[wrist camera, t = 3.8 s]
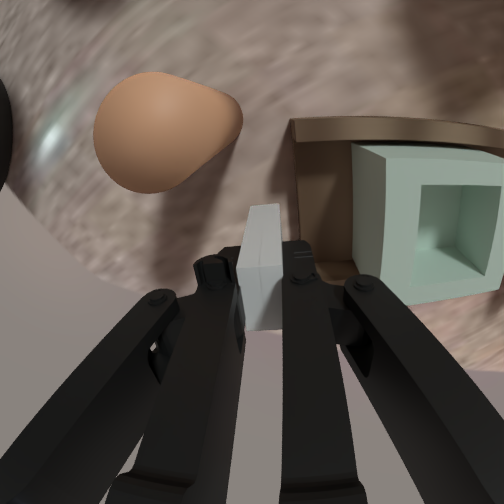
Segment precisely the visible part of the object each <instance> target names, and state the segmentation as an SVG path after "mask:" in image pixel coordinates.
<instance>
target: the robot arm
mask: <svg viewBox="0 0 504 504" xmlns="http://www.w3.org/2000/svg"><path fill="white" fill-rule="evenodd" d="M11 148H12V118H11V109H10V103H9V99H8V95H7V92H6V89H5V86H4V84H3V82H2V80H1V79H0V191H1V189H2V187H3V185H4V182H5V179H6V176H7V173H8V168H9V163H10V157H11ZM193 267H194V271H195V275H196V279H197V283H198V287H197V290H196V292H195V293H194V294H192V295H188V296H184V297H180V298H177V297H176V294H175V292H174V291H173V290H170V289H158V290H157V289H156V290H153V291H151V292H149V293H147V294H146V295H145V296H143V297H142V298H141V299H140V300H139V301H138V302H137V303H136V304H135V306H134V307H133V308H132V309H131V310H130V311H129V312H128V313H127V314H126V315H125V316H124V317H123V318H122V319H121V320H120V321H119V322H118V323H117V324H116V325H115V327H114V328H113V329H112V330H111V331H110V332H109V333H108V334H107V335H106V336H105V337H104V339H102V340H101V342H100V343H99V344H98V345H97V346H96V347H95V348H94V349H93V350H92V352H90V353H89V355H88V356H87V357H86V358H85V359H84V360H83V361H82V362H81V364H79V366H78V367H77V368H76V369H75V370H74V371H73V372H72V373H71V375H70V376H69V377H68V378H67V379H66V380H65V381H64V382H63V384H62V385H61V386H60V387H59V388H58V389H57V391H56V392H55V393H54V394H53V395H52V396H51V398H50V399H49V400H48V401H47V402H46V404H45V405H44V406H43V407H42V408H41V409H40V410H39V412H38V413H37V414H36V415H35V416H34V418H33V419H32V420H31V421H30V423H29V424H28V425H27V426H26V427H25V429H24V430H23V431H22V432H21V434H20V435H19V436H18V437H17V438H16V440H15V441H14V442H13V444H12V445H11V446H10V448H9V449H8V450H7V451H6V453H5V454H4V455H3V456H2V458H1V459H0V504H99V503H100V501H101V500H102V498H103V497H104V495H105V493H106V492H107V490H108V489H109V487H110V486H111V487H110V489H109V492H108V495H107V498H106V501H105V504H226V498H227V490H228V482H229V474H230V466H231V459H232V451H233V450H232V449H233V442H234V434H235V425H236V418H237V410H238V402H239V393H240V385H241V377H242V369H243V361H244V353H245V344H246V338H245V332H244V327H245V324H246V329H247V331H261V330H279V329H282V337H283V421H282V474H281V489H280V495H279V504H368V502H367V497H366V492H365V489H364V486H363V485H362V484H361V482H360V481H359V479H358V475H357V468H356V460H355V453H354V446H353V438H352V432H351V425H350V419H349V412H348V406H347V400H346V395H345V389H344V383H343V378H342V372H341V367H340V362H339V357H338V352H337V347H336V344H340V348H341V351H342V352H343V354H344V356H345V357H346V359H347V361H348V363H349V365H350V366H351V368H352V370H353V371H354V373H355V375H356V377H357V379H358V380H359V382H360V384H361V386H362V387H363V389H364V391H365V393H366V395H367V396H368V398H369V400H370V402H371V403H372V405H373V407H374V409H375V411H376V412H377V414H378V416H379V418H380V420H381V421H382V423H383V425H384V427H385V429H386V431H387V433H388V434H389V436H390V438H391V440H392V442H393V444H394V446H395V447H396V449H397V451H398V453H399V455H400V457H401V459H402V460H403V462H404V464H405V466H406V468H407V470H408V472H409V474H410V476H411V478H412V479H413V481H414V483H415V485H416V487H417V489H418V491H419V493H420V495H421V497H422V499H423V501H424V503H425V504H504V420H503V419H502V417H501V416H500V415H499V413H498V412H497V411H496V409H495V408H494V407H493V405H492V404H491V403H490V402H489V400H488V399H487V398H486V397H485V395H484V394H483V393H482V391H480V389H479V388H478V386H477V385H476V384H475V383H474V382H473V380H472V379H471V378H470V377H469V375H468V374H467V373H466V372H465V371H464V370H463V368H462V367H461V366H460V365H459V364H458V362H457V361H456V360H455V359H454V358H453V357H452V355H451V354H450V353H449V352H448V351H447V350H446V349H445V347H444V346H443V345H442V344H441V343H440V342H439V341H438V340H437V339H436V337H435V336H434V335H433V334H432V333H431V332H430V331H429V330H428V329H427V327H426V326H425V325H424V324H423V323H422V322H421V321H420V320H419V319H418V318H417V317H416V316H415V315H414V314H413V312H412V311H411V310H410V309H409V308H408V307H407V306H406V305H405V304H404V303H403V302H402V301H401V300H400V299H399V298H398V297H397V296H396V295H395V294H394V293H393V292H392V291H391V290H390V289H389V288H388V287H387V286H386V285H385V284H384V283H383V282H382V281H381V280H380V279H379V278H377V277H375V276H372V275H368V274H360V275H354V276H351V277H349V278H348V279H347V280H346V281H345V283H344V286H340V285H333V284H329V283H326V282H324V281H323V280H322V279H321V276H320V275H319V273H317V270H316V266H315V262H314V258H313V254H312V250H311V245H310V244H309V243H308V242H306V241H305V240H298V241H285V242H283V241H282V229H281V218H280V207H279V203H277V204H266V205H255V206H251V207H250V211H249V215H248V219H247V223H246V228H245V232H244V236H243V241H242V245H241V246H233V247H224V248H223V249H222V250H221V251H220V252H219V253H218V254H214V255H208V256H205V257H203V258H201V259H199V260H197V261H196V262H195V263H194V264H193ZM154 342H155V344H156V348H155V349H154V350H153V351H151V350H150V347H151V346H152V345H153V343H154ZM143 434H144V435H143ZM142 436H143V439H142V441H141V444H140V447H139V450H138V454H137V457H136V460H135V464H134V465H133V468H132V469H131V470H130V471H129V472H126V473H122V474H119V475H118V473H119V472H120V470H121V469H122V467H123V465H124V464H125V462H126V461H127V459H128V457H129V456H130V454H131V453H132V451H133V450H134V448H135V447H136V445H137V443H138V442H139V440H140V439H141V437H142ZM117 475H118V476H117ZM116 476H117V477H116ZM111 484H112V485H111Z"/></svg>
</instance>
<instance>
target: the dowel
mask: <svg viewBox="0 0 504 504" xmlns="http://www.w3.org/2000/svg"><path fill="white" fill-rule="evenodd" d="M242 125H243V114H242V110H241V108H240V106H239V104H238V103H237V102H236V100H235V99H234V98H232V97H231V96H229V95H228V94H225V93H223V92H220V91H218V90H215V89H212V88H209V87H206V86H204V85H201V84H198V83H195V82H192V81H189V80H186V79H183V78H179V77H176V76H173V75H170V74H166V73H161V72H144V73H140V74H136V75H133V76H131V77H129V78H127V79H125V80H123V81H122V82H120V83H119V84H118V85H116V86H115V87H114V88H113V89H112V90H111V91H110V92H109V93H108V95H107V96H106V97H105V99H104V100H103V102H102V103H101V105H100V108H99V110H98V112H97V115H96V119H95V123H94V131H93V137H94V147H95V151H96V154H97V157H98V160H99V162H100V164H101V166H102V167H103V169H104V170H105V172H106V173H107V174H108V175H109V176H110V178H111V179H113V180H114V181H115V182H116V183H117V184H119V185H120V186H122V187H124V188H126V189H128V190H131V191H134V192H138V193H145V194H152V193H159V192H164V191H166V190H169V189H172V188H173V187H175V186H177V185H179V184H180V183H181V182H183V181H184V180H185V179H187V178H188V177H189V176H190V175H191V174H193V173H194V172H195V171H196V170H197V169H199V168H200V167H201V166H202V165H204V164H205V163H206V162H207V161H209V160H210V159H211V158H212V157H214V156H215V155H216V154H217V153H219V152H220V151H221V150H223V149H224V148H225V147H226V146H228V145H229V144H230V143H232V142H233V141H234V140H235V139H236V138H237V136H238V135H239V133H240V131H241V129H242Z"/></svg>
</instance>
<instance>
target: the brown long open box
mask: <svg viewBox="0 0 504 504" xmlns="http://www.w3.org/2000/svg"><path fill="white" fill-rule="evenodd" d="M290 124H291V133H292V143H293V154H294V165H295V176H296V189H297V202H298V216H299V232H300V240H305V241H306V242H308V243H309V244H310V245H311V250H312V254H313V258H314V262H315V266H316V270H317V273H319V275H320V276H321V279H322V280H323V281H324V282H326V283H329V284H333V285H340V286H344V283H345V281H346V280H347V279H348V278H349V277H351V276H354V275H360V273H359V270H358V268H357V266H356V264H355V262H354V260H353V258H352V244H353V174H352V149H351V142H402V143H428V144H445V145H458V146H468V147H471V148H474V149H478V150H481V151H484V152H487V153H490V154H492V155H495V156H498V157H501V158H504V130H503V129H498V128H492V127H487V126H480V125H474V124H467V123H460V122H451V121H442V120H432V119H420V118H405V117H381V116H332V117H308V118H292V119H290Z"/></svg>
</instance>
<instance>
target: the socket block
mask: <svg viewBox="0 0 504 504" xmlns="http://www.w3.org/2000/svg"><path fill="white" fill-rule="evenodd" d="M351 149H352V174H353V244H352V258H353V260H354V262H355V264H356V266H357V268H358V270H359V273H360V274H368V275H372V276H375V277H377V278H379V279H380V280H381V281H382V282H383V283H384V284H385V285H386V286H387V287H388V288H389V289H390V290H391V291H392V292H393V293H394V294H395V295H396V296H397V297H398V298H399V299H400V300H401V301H402V302H403V303H404V304H405V305H406V306H408V305H415V304H421V303H428V302H434V301H440V300H446V299H452V298H458V297H463V296H468V295H474V294H479V293H484V292H489V291H494V290H498V289H499V287H500V284H501V281H502V277H503V274H504V158H501V157H498V156H495V155H492V154H490V153H487V152H484V151H481V150H478V149H474V148H471V147H468V146H458V145H445V144H428V143H402V142H351Z"/></svg>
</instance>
